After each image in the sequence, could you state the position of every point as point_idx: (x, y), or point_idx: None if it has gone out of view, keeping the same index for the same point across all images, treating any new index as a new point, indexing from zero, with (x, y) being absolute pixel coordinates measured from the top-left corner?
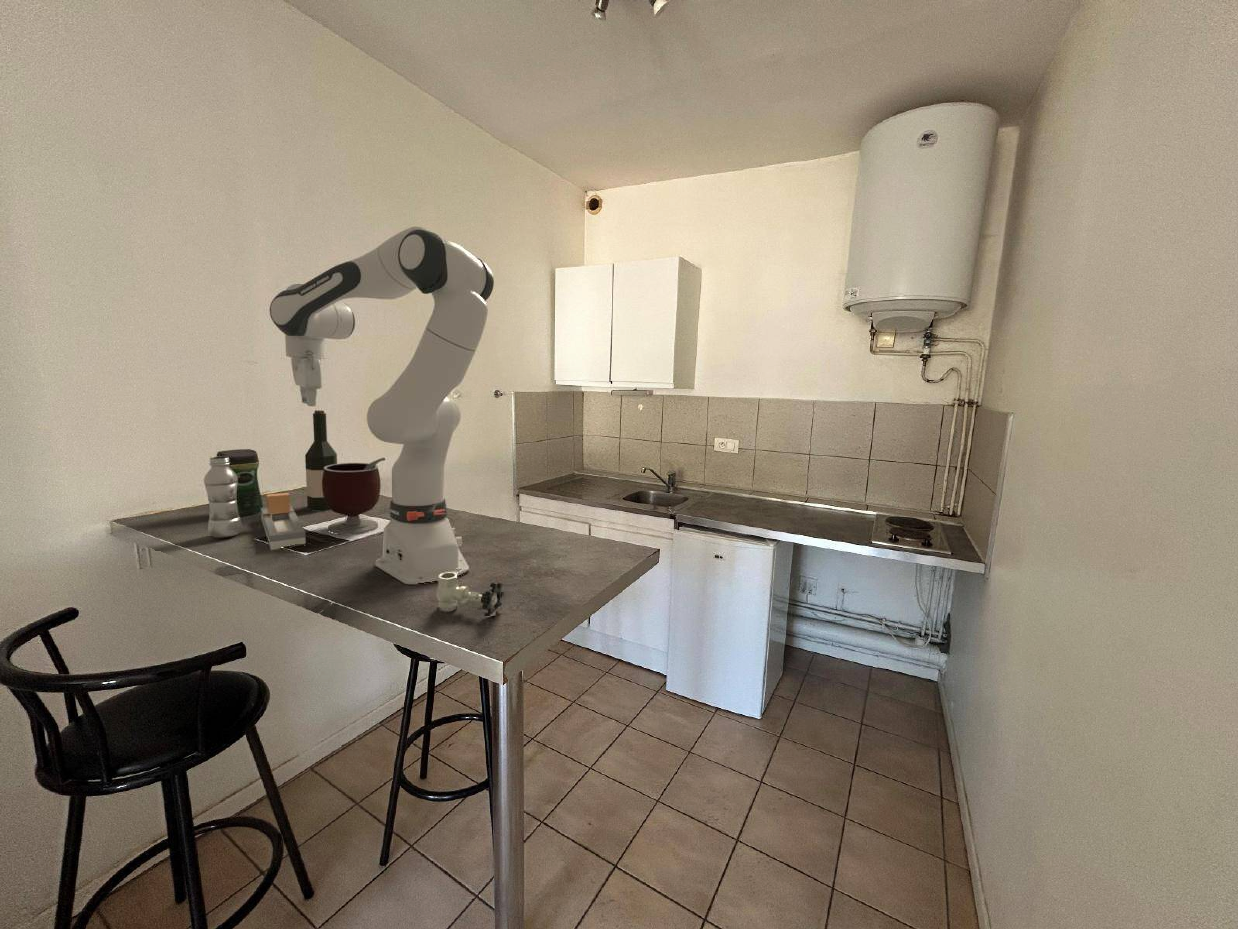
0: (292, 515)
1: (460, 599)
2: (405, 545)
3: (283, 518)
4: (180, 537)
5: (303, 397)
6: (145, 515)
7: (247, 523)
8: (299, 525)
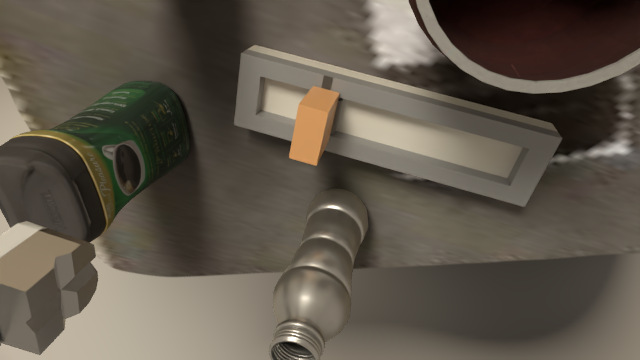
0: (367, 96)
1: None
2: None
3: (341, 106)
4: (294, 254)
5: (46, 341)
6: (104, 243)
7: (260, 144)
8: (488, 124)
